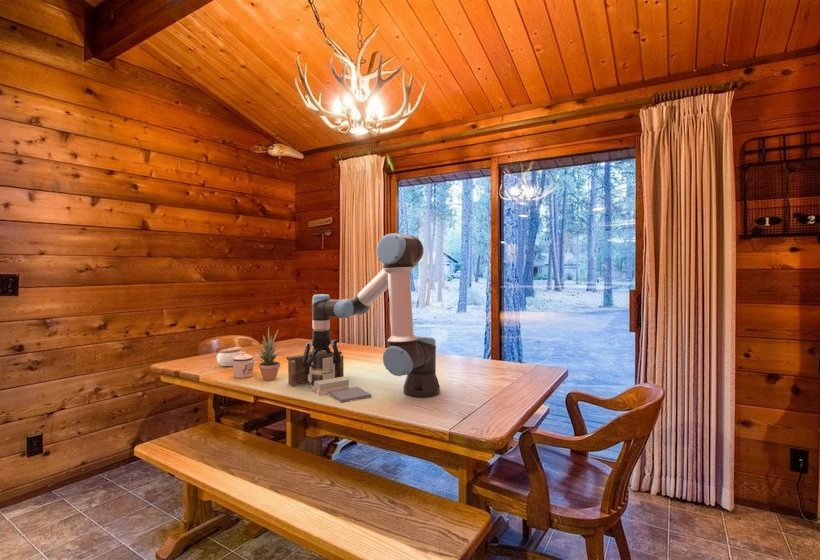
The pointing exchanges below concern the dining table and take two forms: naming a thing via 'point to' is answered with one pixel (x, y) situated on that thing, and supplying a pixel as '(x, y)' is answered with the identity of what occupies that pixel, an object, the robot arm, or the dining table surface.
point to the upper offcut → (331, 383)
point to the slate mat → (349, 394)
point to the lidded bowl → (227, 354)
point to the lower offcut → (327, 390)
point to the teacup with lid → (243, 365)
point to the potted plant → (269, 359)
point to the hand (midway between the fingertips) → (321, 379)
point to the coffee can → (321, 366)
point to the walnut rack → (299, 371)
